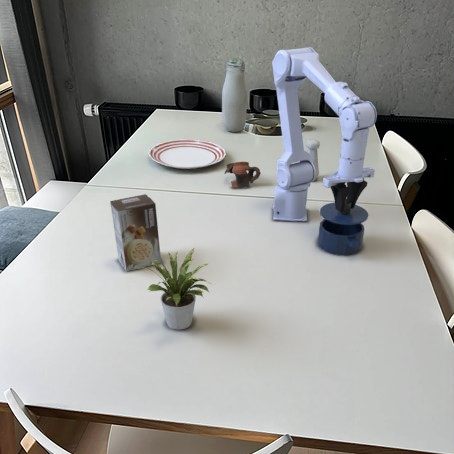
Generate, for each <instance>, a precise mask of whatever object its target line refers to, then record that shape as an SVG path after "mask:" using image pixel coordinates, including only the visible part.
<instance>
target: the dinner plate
mask: <svg viewBox="0 0 454 454" xmlns="http://www.w3.org/2000/svg"><path fill="white" fill-rule="evenodd" d="M226 155H227V152H226V150H225V149H224V148H223V147H222V146H221V145H219V144H217V143H214V142H210V141H206V140H202V139H200V140H199V139H192V138H191V139H188V138H187V139H185V138H184V139H183V138H181V139H172V140H167V141H163V142H159V143H157V144H155V145H153V146H152V147H150V148H149V150H148V156H149V158H150V159H151V160H152V161H154V162H156V163H158V164H160V165H162V166H165V167H168V168H173V169H178V170H197V169H202V168H205V167H209V166H212V165H216V164H217V163H220V162H222V161H223V160H224V159H225V158H226Z"/></svg>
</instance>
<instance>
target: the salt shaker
mask: <svg viewBox="0 0 454 454" xmlns="http://www.w3.org/2000/svg"><path fill="white" fill-rule="evenodd" d="M320 146H321V143H320V141H319V140H318V139H313V138H312V139H307V141H306V144H305V148H306V149H307V150H306V152H307V153H309V154H310V155H311V156H312V162H313V164H314V167H315V170H316V176H315V179H314V181H313V182H315V181H316V180H317V178H318V177H319V174H320V168H319V155H318V153H319V152H318V149H320Z"/></svg>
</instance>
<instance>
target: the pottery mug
mask: <svg viewBox="0 0 454 454" xmlns="http://www.w3.org/2000/svg"><path fill="white" fill-rule="evenodd" d="M254 173H255V174H254ZM226 174H233V175H234V176H235V179H234V180H231V181H230V184H231V188H232V189H237V188H249V187H250V184H253V183H254V182H255V181H257V180H258V179H259V178H260V176H261V169H260V167H258V166H250V162H249V161H235V162H230V163H227V164H226V169H225V171H224V175H226Z"/></svg>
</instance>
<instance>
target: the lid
mask: <svg viewBox="0 0 454 454" xmlns="http://www.w3.org/2000/svg"><path fill="white" fill-rule="evenodd" d="M351 204H352V201H351V200H350V199H347V198H346V201H345V206H344V209H343V211H342V212H340V211H338V210H336V208H335V202H329V203H326V204H323V205H322V206H321V207H320V209H319V214H320V216H321V217H322V218H323V219H326V220H328V221H330V222H333V223H337V224H342V225H355V224H360V223H362V224H363V223H365V222H366V221H368V219H369V212H368V211H367V210H366V209H365V208H364V207H362V206H360V205H358V204H355V206H354V208H353V209H351Z"/></svg>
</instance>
